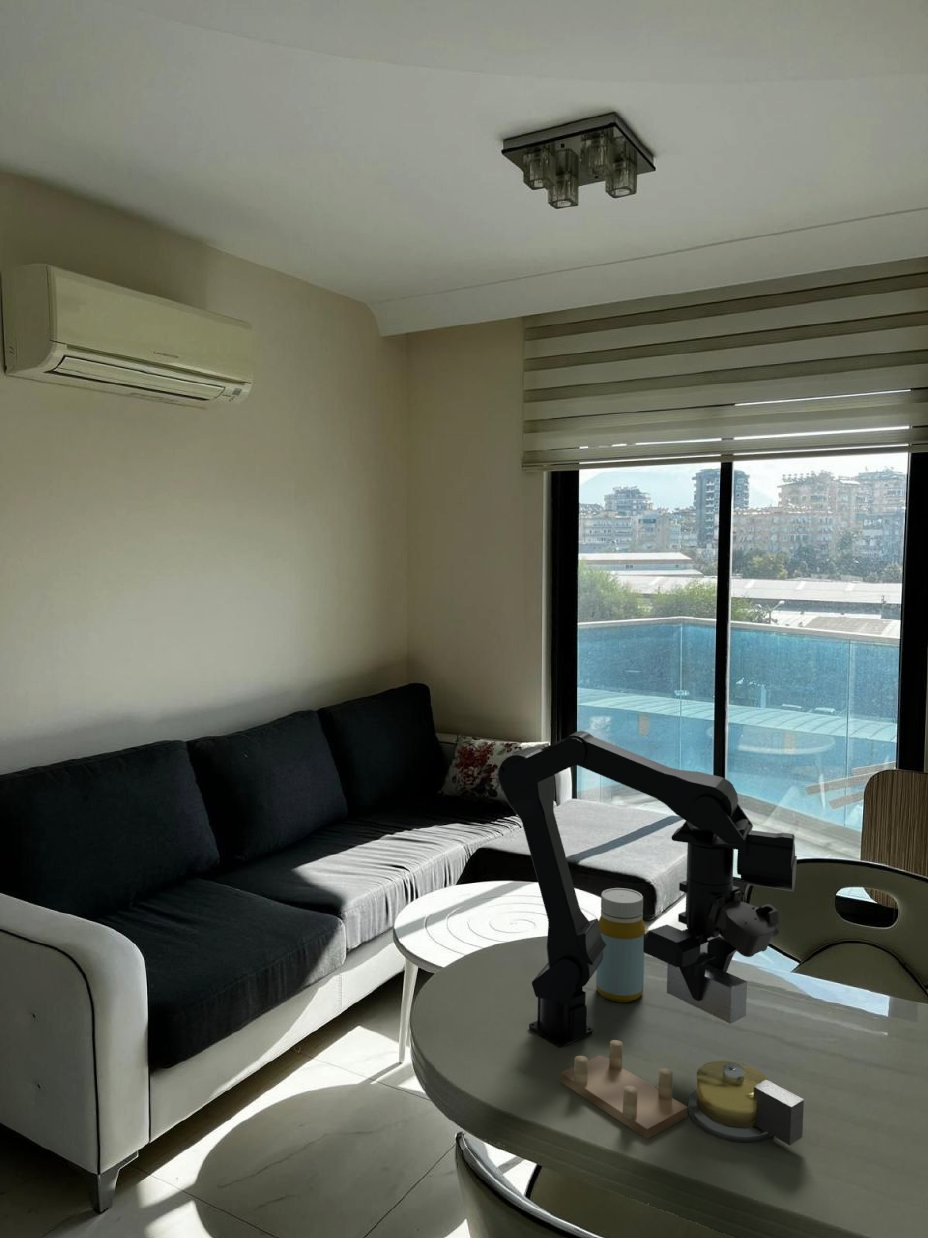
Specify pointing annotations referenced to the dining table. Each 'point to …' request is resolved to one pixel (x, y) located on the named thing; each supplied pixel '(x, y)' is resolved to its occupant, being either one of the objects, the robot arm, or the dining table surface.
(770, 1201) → the dining table surface
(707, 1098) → the brass disc with block
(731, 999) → the long grey slab
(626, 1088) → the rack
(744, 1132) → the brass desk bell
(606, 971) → the bottle
